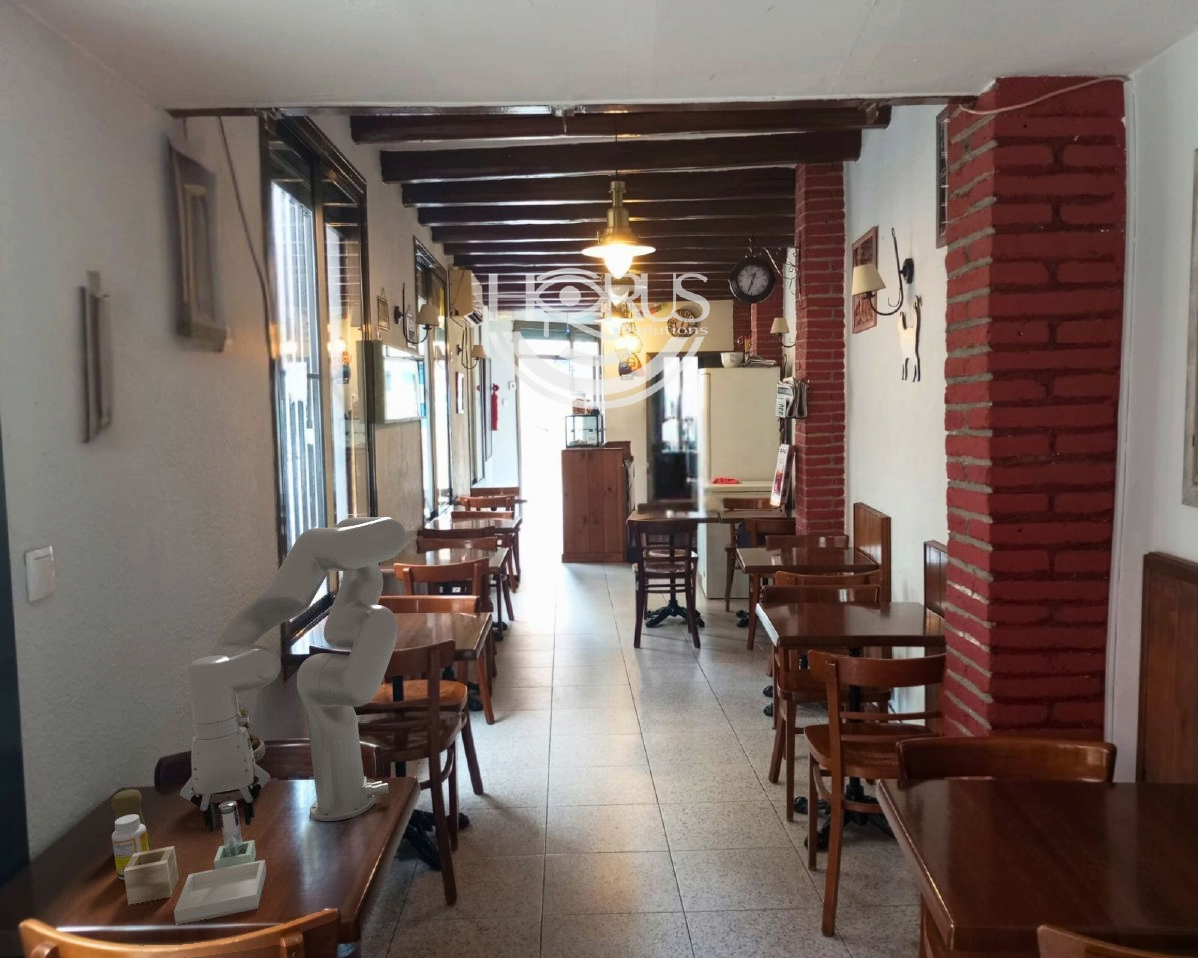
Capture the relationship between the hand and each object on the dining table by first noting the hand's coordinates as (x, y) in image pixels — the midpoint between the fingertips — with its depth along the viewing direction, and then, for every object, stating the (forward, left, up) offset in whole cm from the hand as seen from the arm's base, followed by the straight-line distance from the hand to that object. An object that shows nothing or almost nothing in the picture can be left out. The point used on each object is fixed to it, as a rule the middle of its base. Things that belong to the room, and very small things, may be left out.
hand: (230, 824), depth 166 cm
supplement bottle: (+18, -5, -8) cm, 20 cm away
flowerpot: (+5, -34, -8) cm, 35 cm away
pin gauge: (0, 0, -7) cm, 7 cm away
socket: (0, 0, -8) cm, 8 cm away
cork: (+21, -17, -8) cm, 28 cm away
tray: (+1, +12, -8) cm, 14 cm away
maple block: (+13, +4, -8) cm, 15 cm away
